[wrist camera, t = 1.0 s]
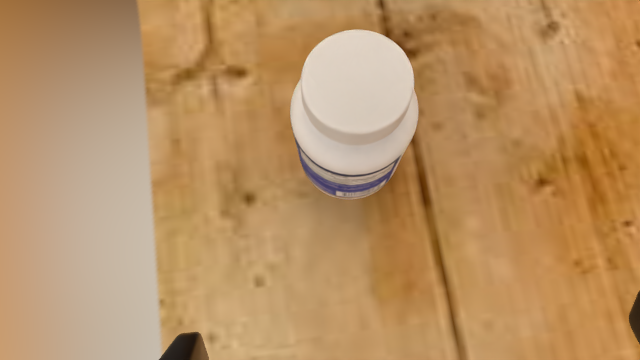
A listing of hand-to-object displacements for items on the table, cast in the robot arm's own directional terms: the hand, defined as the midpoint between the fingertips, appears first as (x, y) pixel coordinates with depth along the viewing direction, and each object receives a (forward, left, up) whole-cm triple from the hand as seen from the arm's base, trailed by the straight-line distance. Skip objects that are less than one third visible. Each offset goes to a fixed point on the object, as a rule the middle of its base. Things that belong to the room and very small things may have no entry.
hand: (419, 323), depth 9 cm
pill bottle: (+8, +1, -14) cm, 16 cm away
